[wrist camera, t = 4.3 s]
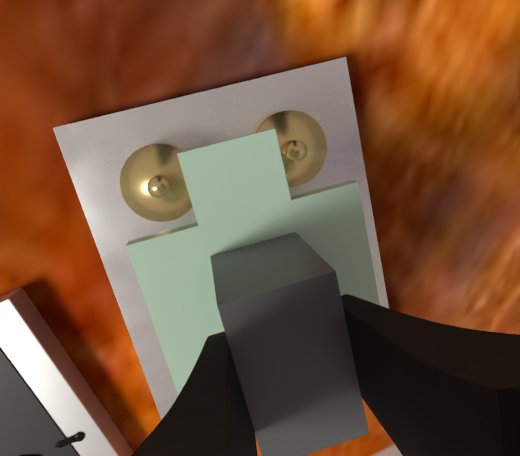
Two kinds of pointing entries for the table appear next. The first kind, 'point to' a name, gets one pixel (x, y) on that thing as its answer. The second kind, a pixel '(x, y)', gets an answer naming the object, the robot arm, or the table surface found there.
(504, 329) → the table surface
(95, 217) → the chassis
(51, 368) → the picture frame
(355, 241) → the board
